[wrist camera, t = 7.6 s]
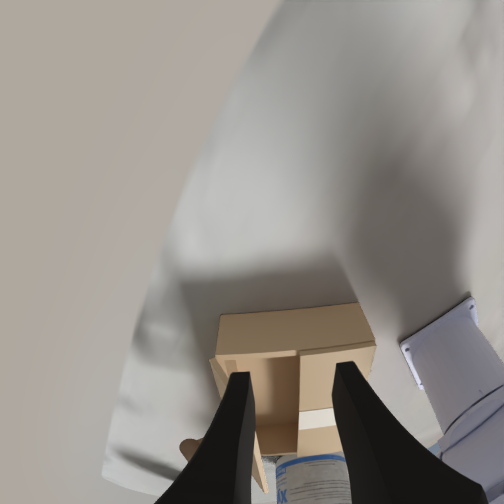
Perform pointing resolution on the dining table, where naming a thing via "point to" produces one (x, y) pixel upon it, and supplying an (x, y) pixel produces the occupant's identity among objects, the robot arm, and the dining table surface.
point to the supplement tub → (313, 479)
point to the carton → (295, 370)
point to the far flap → (191, 445)
